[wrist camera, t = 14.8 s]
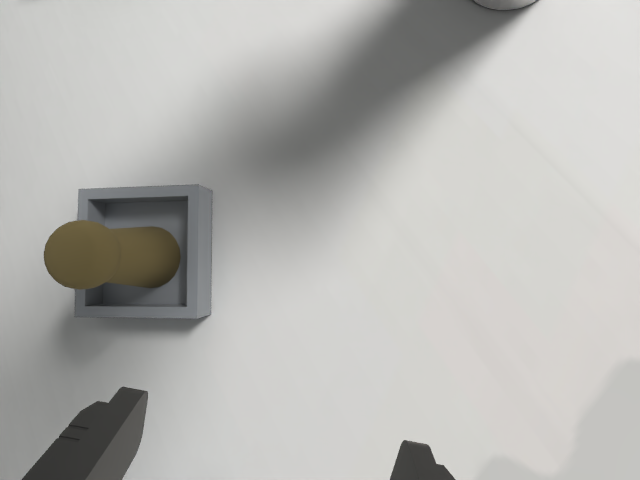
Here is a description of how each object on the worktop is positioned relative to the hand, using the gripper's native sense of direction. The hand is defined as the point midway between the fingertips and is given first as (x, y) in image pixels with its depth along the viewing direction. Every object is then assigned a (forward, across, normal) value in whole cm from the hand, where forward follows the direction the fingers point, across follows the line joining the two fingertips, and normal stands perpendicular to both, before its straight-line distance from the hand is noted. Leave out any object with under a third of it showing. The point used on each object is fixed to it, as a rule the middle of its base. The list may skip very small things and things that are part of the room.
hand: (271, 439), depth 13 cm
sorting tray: (+28, +14, +5) cm, 32 cm away
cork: (+28, +14, +5) cm, 32 cm away
